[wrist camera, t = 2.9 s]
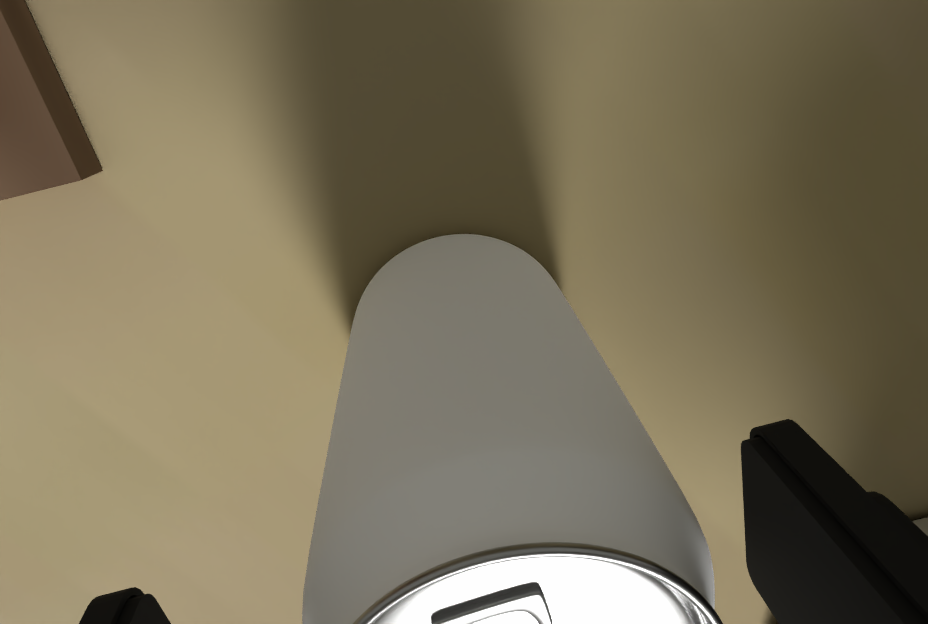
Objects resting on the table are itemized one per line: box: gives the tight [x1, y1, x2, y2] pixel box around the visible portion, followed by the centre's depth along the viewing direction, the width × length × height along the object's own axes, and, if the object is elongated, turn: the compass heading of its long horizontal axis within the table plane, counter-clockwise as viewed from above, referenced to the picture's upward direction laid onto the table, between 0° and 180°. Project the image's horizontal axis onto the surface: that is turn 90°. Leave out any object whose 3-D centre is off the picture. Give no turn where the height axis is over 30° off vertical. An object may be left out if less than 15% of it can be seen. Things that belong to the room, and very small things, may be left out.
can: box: [302, 234, 723, 624], centre depth 14 cm, size 6×6×12 cm
